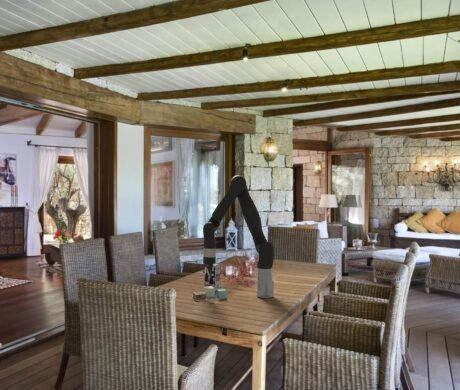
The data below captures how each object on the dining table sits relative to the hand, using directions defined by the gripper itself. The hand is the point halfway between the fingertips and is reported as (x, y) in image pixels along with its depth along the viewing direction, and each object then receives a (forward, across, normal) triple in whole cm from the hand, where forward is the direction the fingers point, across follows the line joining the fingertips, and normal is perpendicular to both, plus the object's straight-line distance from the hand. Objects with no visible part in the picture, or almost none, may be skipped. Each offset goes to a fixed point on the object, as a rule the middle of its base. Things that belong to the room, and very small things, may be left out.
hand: (208, 282), depth 237 cm
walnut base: (+8, -3, +6) cm, 11 cm away
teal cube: (+8, -6, -6) cm, 11 cm away
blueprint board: (+8, -2, +1) cm, 9 cm away
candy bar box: (+8, +15, -8) cm, 19 cm away
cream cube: (+8, 0, -1) cm, 8 cm away
